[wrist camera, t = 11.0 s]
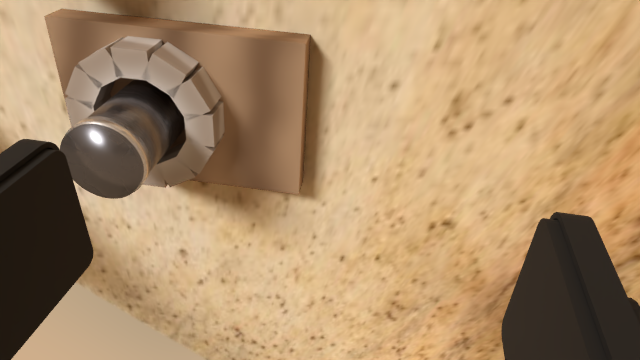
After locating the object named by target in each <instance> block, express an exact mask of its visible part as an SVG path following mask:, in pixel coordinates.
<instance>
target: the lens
mask: <svg viewBox="0 0 640 360" xmlns="http://www.w3.org/2000/svg"><path fill="white" fill-rule="evenodd" d="M184 129H185V121H184V116H183V115H182V113H181V112H180V110H179V109H178V107H177V106H176V104H175V103H174V101H173V100H172V98H171V97H170V95H168V94H167V93H165V92H163V91H162V90H160V89H159V88H157V87H156V86H154V85H152V84H151V83H149V82H148V81H146V80H138V79H134V80H132V81H131V82H130V83H129V84H127V85H126V86H125V87H124V88H122V89H121V90H120V91H119V92H118V93H116V94H115V95H114V96H113V97H111V98H110V99H109V100H108V101H107V102H105V103H104V104H103V105H102V106H100V107H99V108H98V109H97V110H96V111H94V112H93V113H92V114H91V115H89V116H88V117H87V118H85V119H83V120H81V121H79V122H78V123H77V124H76V125H74V126H73V127H72V128H71V129H69V130H68V132H67V133H66V134H65V136H64V138H63V140H62V142H61V145H60V151H61V152H63V153H64V154H65V156H66V159H67V162H68V165H69V169H70V172H71V176H72V179H73V180H74V181H75V182H76V183H77V184H78V185H80V186H81V187H82V188H84V189H85V190H87V191H89V192H91V193H93V194H95V195H97V196H101V197H105V198H122V197H126V196H128V195H130V194H131V193H133V192H135V191H136V190H138V189H139V188H140V186H141V185H142V184H143V183H144V181H145V180H146V179H147V177H148V175H149V173H150V171H151V170H152V169H153V168H154V166H155V165H156V164H157V163H158V161H159V160H160V159H161V158H162V156H163V155H164V154H165V153H166V151H167V150H168V149H169V148H170V147H171V145H172V144H173V143H174V142H175V140H176V139H177V138H178V137H179V135H180V134H181V133H182V132H183V130H184Z"/></svg>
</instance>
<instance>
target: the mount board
mask: <svg viewBox="0 0 640 360" xmlns="http://www.w3.org/2000/svg"><path fill="white" fill-rule="evenodd" d="M45 21H46V25H47V29H48V33H49V37H50V41H51V45H52V49H53V53H54V57H55V61H56V65H57V69H58V73H59V77H60V82H61V86H62V90H63V94H64V98H65V102H66V106H67V110H68V114H69V118H70V122H71V126H72V127H73V126H74V125H76V124H77V123H78V122H79V121H81V120H83V119H85V118H87V117H88V116H89V115H91V114H92V113H93V112H94V111H96V110H97V109H98V108H99V107H100V106H102V105H103V104H104V103H105V102H107V101H108V100H109V99H110V98H111V97H113V96H114V95H115V94H116V93H118V92H119V91H120V90H121V89H122V88H124V87H125V86H126V85H127V84H129V83H130V82H131V81H132V80H134V79H138V80H146V81H148V82H149V83H151V84H152V85H154V86H156V87H157V88H159V89H160V90H162V91H163V92H165V93H167V94H168V95H170V97H171V98H172V100H173V101H174V103H175V104H176V106H177V107H178V109H179V110H180V112H181V113H182V115H183V116H184V121H185V129H184V130H183V132H182V133H181V134H180V135H179V137H178V138H177V139H176V140H175V142H174V143H173V144H172V145H171V147H170V148H169V149H168V150H167V151H166V153H165V154H164V155H163V156H162V158H161V159H160V160H159V161H158V163H157V164H156V165H155V166H154V168H153V169H152V170H151V171H150V173H149V175H148V177H147V179H146V180H145V181H144V183H143V185H150V186H158V187H166V186H167V184H168V185H169V186H170V187H171V186H174V185H177V184H179V183H182V182H184V181H187V180H193V181H201V182H208V183H216V184H223V185H231V186H239V187H246V188H254V189H262V190H269V191H277V192H285V193H292V194H299V192H300V189H301V185H302V182H303V171H304V151H305V131H306V111H307V92H308V72H309V52H310V35H308V34H298V33H288V32H279V31H269V30H260V29H250V28H240V27H231V26H221V25H211V24H202V23H192V22H183V21H173V20H163V19H154V18H144V17H134V16H125V15H115V14H106V13H96V12H86V11H77V10H67V9H60V10H58V11H55V12H53V13H51V14H49V15H46V16H45Z"/></svg>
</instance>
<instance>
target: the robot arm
mask: <svg viewBox="0 0 640 360" xmlns="http://www.w3.org/2000/svg"><path fill="white" fill-rule="evenodd" d="M92 258H93V247H92V244H91V241H90V237H89V234H88V230H87V227H86V223H85V220H84V217H83V213H82V210H81V206H80V203H79V200H78V196H77V193H76V189H75V186H74V183H73V179H72V176H71V172H70V169H69V165H68V162H67V159H66V156H65V154H64V153H63V152H61V151H60V150H59V148H58V147H57V146H56V145H55V144H54V143H51V142H45V141H37V140H30V139H22V140H20V141H18V142H17V143H15V144H14V145H12V146H11V147H9V148H8V149H6V150H5V151H4V152H2V153H1V154H0V360H11V359H12V358H13V356H14V355H15V354H16V353H17V352H18V350H19V349H20V348H21V347H22V346H23V345H24V343H25V342H26V341H27V340H28V339H29V337H30V336H31V335H32V334H33V333H34V331H35V330H36V329H37V328H38V326H39V325H40V324H41V323H42V322H43V320H44V319H45V318H46V317H47V316H48V314H49V313H50V312H51V311H52V310H53V309H54V307H55V306H56V305H57V304H58V303H59V301H60V300H61V299H62V298H63V296H64V295H65V294H66V293H67V292H68V291H69V289H70V288H71V287H72V285H74V283H75V282H76V281H77V280H78V279H79V277H80V276H81V275H82V274H83V273H84V271H85V270H86V269H87V268H88V266H89V265H90V263H91V261H92ZM502 342H503V349H504V356H505V360H640V306H639V304H638V303H637V302H636V301H635V300H633V299H632V298H628V297H627V295H626V293H625V290H624V288H623V286H622V284H621V281H620V279H619V277H618V275H617V272H616V270H615V268H614V266H613V263H612V261H611V259H610V257H609V255H608V252H607V250H606V248H605V246H604V243H603V241H602V239H601V237H600V234H599V232H598V230H597V228H596V225H595V223H594V221H593V220H592V218H591V217H589V216H582V215H575V214H567V213H560V212H556V213H554V214H553V215H552V216H551V218H550V219H545V218H543V219H541V220H540V221H539V224H538V226H537V229H536V231H535V234H534V237H533V239H532V242H531V245H530V248H529V250H528V253H527V256H526V258H525V261H524V264H523V267H522V269H521V272H520V275H519V277H518V280H517V283H516V286H515V288H514V291H513V294H512V296H511V299H510V302H509V304H508V307H507V310H506V313H505V315H504V318H503V323H502Z"/></svg>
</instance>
